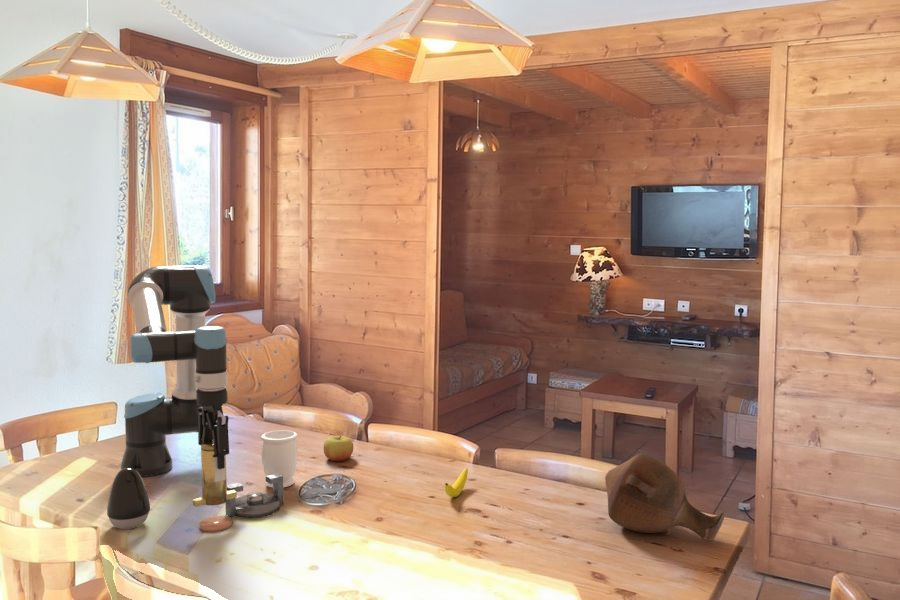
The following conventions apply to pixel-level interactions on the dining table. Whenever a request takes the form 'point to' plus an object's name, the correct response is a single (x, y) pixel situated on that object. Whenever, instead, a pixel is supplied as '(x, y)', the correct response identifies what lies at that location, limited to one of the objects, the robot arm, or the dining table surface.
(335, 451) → the apple
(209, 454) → the amber glass cylinder
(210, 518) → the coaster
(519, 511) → the dining table surface
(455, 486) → the banana
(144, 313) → the robot arm
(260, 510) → the grey two-tab base
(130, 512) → the black and white egg
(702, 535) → the jug
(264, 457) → the jar
